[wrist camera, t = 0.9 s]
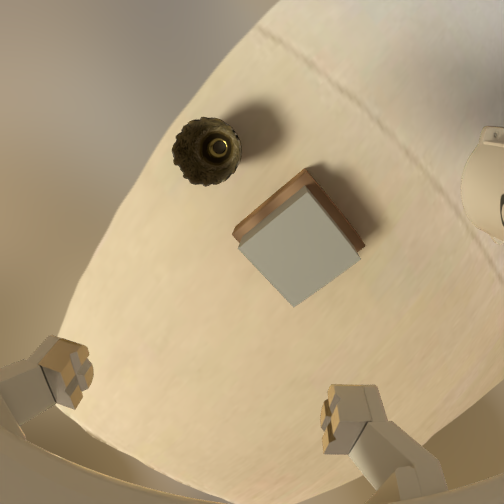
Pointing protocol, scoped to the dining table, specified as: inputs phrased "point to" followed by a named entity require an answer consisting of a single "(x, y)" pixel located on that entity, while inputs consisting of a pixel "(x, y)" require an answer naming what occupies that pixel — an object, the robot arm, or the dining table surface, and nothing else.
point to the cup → (206, 151)
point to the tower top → (299, 247)
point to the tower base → (286, 193)
